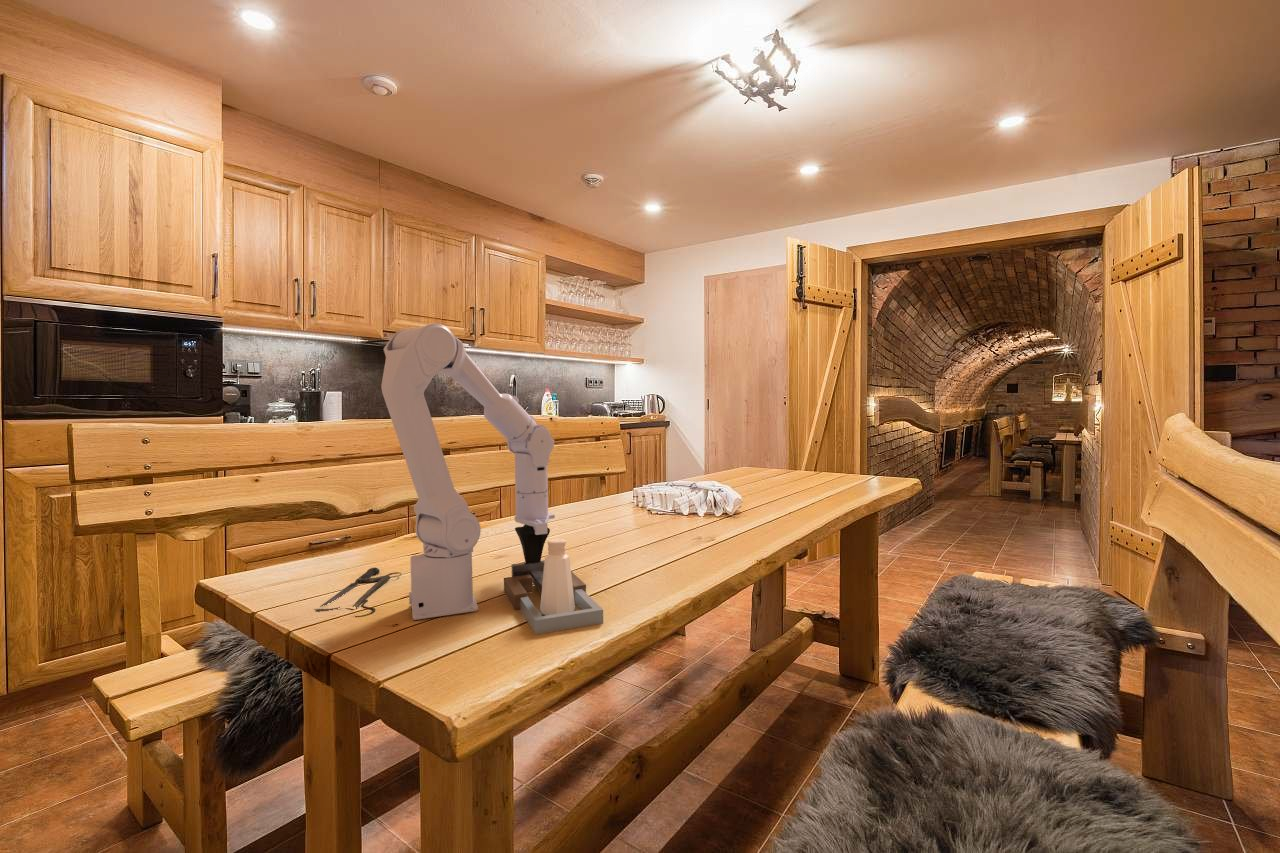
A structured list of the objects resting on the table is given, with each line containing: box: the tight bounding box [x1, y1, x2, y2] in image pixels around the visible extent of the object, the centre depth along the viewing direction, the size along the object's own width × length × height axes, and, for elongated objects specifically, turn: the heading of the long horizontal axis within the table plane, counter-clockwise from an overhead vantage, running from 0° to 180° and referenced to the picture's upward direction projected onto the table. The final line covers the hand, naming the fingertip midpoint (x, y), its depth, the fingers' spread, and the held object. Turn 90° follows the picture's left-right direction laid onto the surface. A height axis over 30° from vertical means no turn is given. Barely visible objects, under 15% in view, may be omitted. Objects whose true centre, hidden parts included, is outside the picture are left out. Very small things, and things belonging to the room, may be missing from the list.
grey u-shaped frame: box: [519, 589, 604, 635], centre depth 86 cm, size 10×10×2 cm
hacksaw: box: [313, 567, 402, 618], centre depth 99 cm, size 24×10×2 cm, turn 2°
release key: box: [510, 559, 545, 594], centre depth 96 cm, size 8×14×3 cm, turn 23°
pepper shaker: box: [539, 537, 576, 616], centre depth 89 cm, size 5×5×11 cm
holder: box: [503, 570, 587, 611], centre depth 95 cm, size 12×10×2 cm
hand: (532, 566), depth 103 cm, fingers closed
